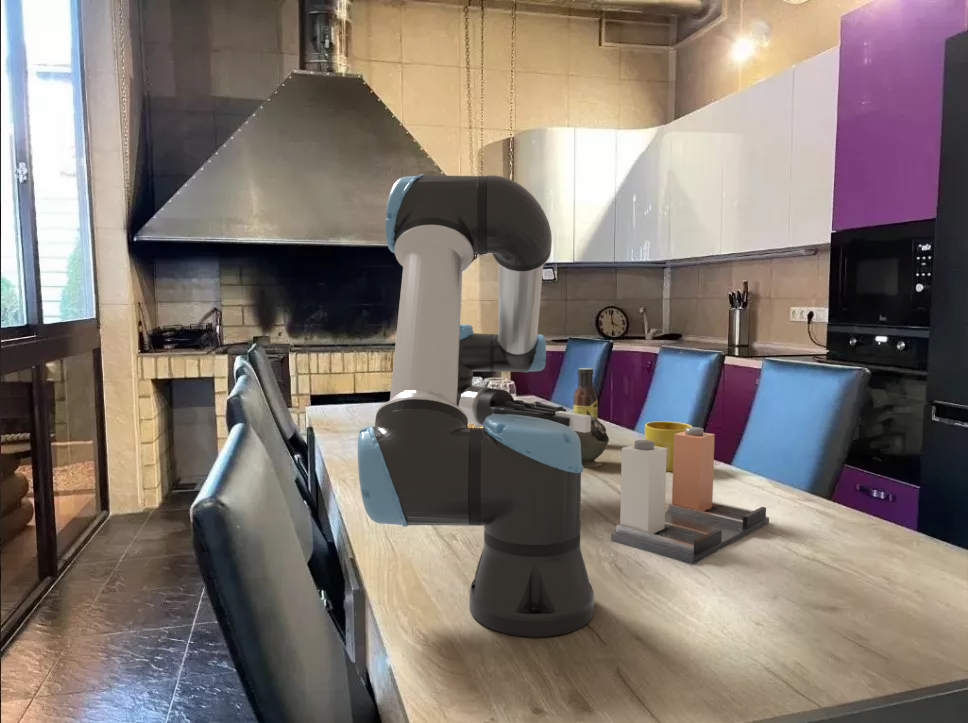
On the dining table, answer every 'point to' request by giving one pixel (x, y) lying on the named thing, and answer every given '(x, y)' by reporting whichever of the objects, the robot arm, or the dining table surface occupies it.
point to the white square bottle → (643, 486)
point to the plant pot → (664, 437)
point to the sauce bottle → (585, 394)
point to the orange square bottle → (693, 469)
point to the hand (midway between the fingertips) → (587, 424)
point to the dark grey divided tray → (695, 531)
